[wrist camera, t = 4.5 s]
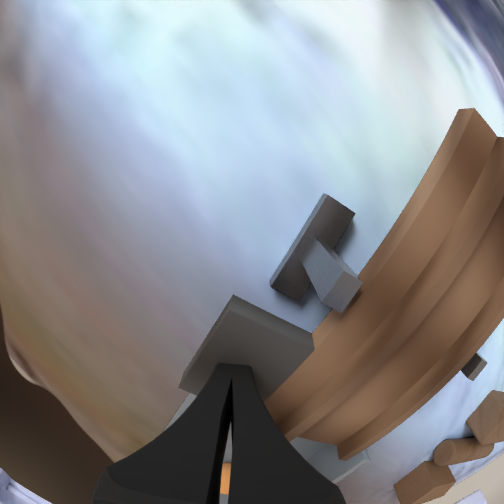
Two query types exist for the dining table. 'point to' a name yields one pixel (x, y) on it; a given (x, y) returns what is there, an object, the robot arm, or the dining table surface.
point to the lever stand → (329, 265)
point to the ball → (225, 478)
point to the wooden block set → (455, 453)
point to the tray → (311, 451)
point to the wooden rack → (386, 310)
